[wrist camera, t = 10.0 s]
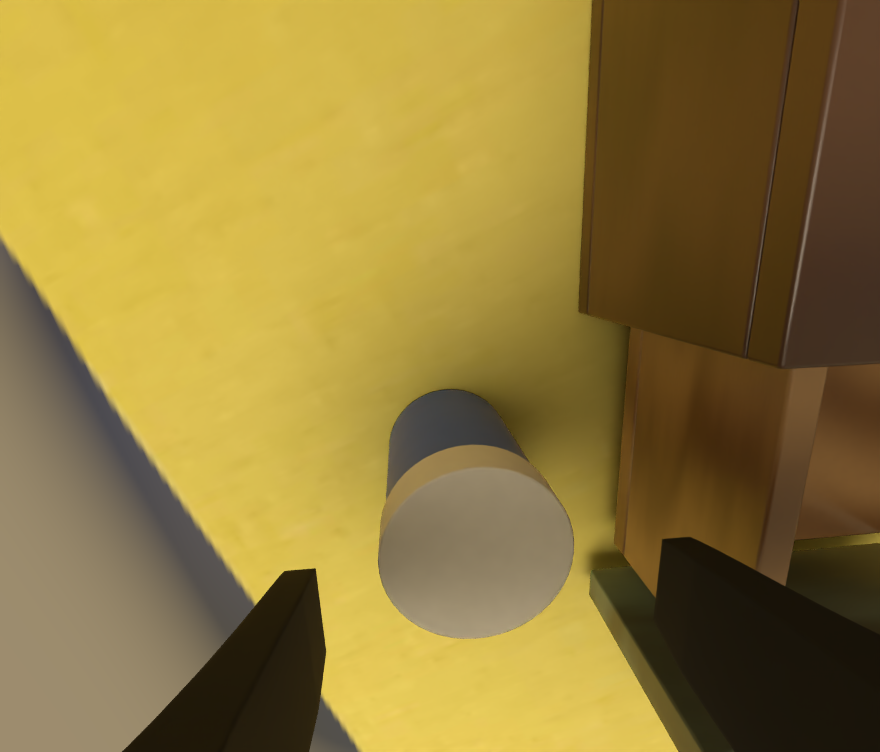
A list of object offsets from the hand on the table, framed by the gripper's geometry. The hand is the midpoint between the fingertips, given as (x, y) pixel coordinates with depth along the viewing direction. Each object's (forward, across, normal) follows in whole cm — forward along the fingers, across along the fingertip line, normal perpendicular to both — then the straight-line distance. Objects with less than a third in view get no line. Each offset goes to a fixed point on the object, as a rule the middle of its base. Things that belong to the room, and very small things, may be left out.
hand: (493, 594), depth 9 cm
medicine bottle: (+8, 0, 0) cm, 8 cm away
